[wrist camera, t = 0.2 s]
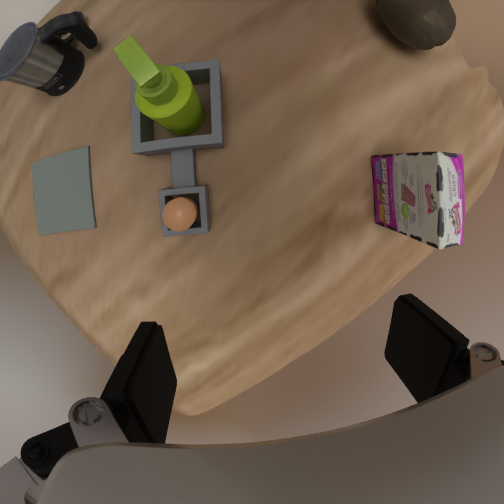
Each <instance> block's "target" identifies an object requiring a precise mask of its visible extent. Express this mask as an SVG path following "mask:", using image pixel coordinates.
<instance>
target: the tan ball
mask: <svg viewBox="0 0 504 504" xmlns="http://www.w3.org/2000/svg"><path fill="white" fill-rule="evenodd" d="M162 215H163V221H164V223H165V224H166V226H167V227H168V228H169V229H171V230H173V231H178V232H179V231H184V230H186V229H188V228H189V227H190V226H191V225H192V224H193V223H194V221H195V220H196V218H197V215H198V208H197V205H196V203H195V202H194V201H193V200H192V199H190V198H188V197H184V196H182V197H177V198H175V199H173V200H171V201H169V202H168V203H167V204H166V205H165V207H164V209H163V214H162Z"/></svg>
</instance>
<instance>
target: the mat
mask: <svg viewBox="0 0 504 504" xmlns="http://www.w3.org/2000/svg"><path fill="white" fill-rule="evenodd" d="M32 175H33V189H34V200H35V209H36V216H37V223H38V230H39V235H44V234H51V233H58V232H66V231H73V230H81V229H89V228H96V227H97V226H96V218H95V211H94V202H93V192H92V180H91V165H90V146H87V147H83V148H79V149H76V150H72V151H68V152H65V153H61V154H58V155H55V156H52V157H48V158H45V159H42V160H39V161H36V162H33V163H32Z"/></svg>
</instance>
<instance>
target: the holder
mask: <svg viewBox="0 0 504 504" xmlns="http://www.w3.org/2000/svg"><path fill="white" fill-rule="evenodd" d="M169 66H175V67H178V68H180V69H182V70H184V71H185V72H186V73H187V74H188V76H189V78H190V80H191V82H192V84H193V85H194V84H204V83H210V99H211V128H212V134H206V135H195V136H186V137H177V138H169V139H162V140H155V141H154V138H153V120H152V119H151V118H149V117H148V116H146V115H144V114H143V113H142V112H141V111H140V110H139V109H138V107H137V105H136V101H135V92H136V87H135V82H136V81H135V79H134V78H133V77H132V104H131V129H132V154H139V155H144V156H149V155H156V154H163V153H171V164H172V180H173V188H167V189H162V190H158V194H159V205H160V215H161V225H162V233H163V236H176V235H190V234H204V233H208V232H209V230H210V227H211V226H210V213H209V199H208V185H198V186H196V170H195V152H194V150H199V149H211V148H224V138H223V114H222V86H221V70H220V61H219V60H209V61H198V62H190V63H182V64H175V65H169ZM189 193H199V202H200V215H201V223H193V224H192V225H191V226H190V227H189V228H188V229H186V230H184V231H179V232H178V231H173V230H171V229H169V228H168V227H167V226H166V224H165V223H164V221H163V215H162V214H163V209H164V207H165V205H166V204H167V203H168V202H169V201H171V200H172V197H171V195H178V194H189Z"/></svg>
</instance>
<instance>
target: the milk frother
mask: <svg viewBox="0 0 504 504" xmlns="http://www.w3.org/2000/svg"><path fill="white" fill-rule="evenodd" d="M67 32H69V33H71V35H70V36H69V37H68V38H66V39H61V38H60V36H59V34H60V33H67ZM77 39H78V40H79V41H80V42H81V43H83V44H84V45H85V46H86V47H87V48H88V49H93V48H94V47H95V46H96V45H97V38H96V35H95V34H94V32H93V31H92V30H91V29H90V28H89V27H88V26H87V24H86V23H85V22H84V21H83V14H82V13H81V12H72V13H70V14H62V15H59V16H57V17H55V18H53V19H51V20H50V21H48V22H47V23H46V24H44V25H43V26H42V27H40V28H38V27H37V25H36V24H35V23H34V22H28V23H25V24H23V25H22V26H20V27H19V28H17V29H16V30H15V31H14V32H13V33H12V34H11V35H10V37H9V38H8V39H7V40H6V41H5V43H4V44H3V46H2V48H1V50H0V81H4V80H6V81H10V82H14V83H17V84H21V85H25V86H28V87H32V88H36V89H39V90H41V91H44V92H47V93H48V94H49V95H51V96H59V95H61V94H63V93H65V92H67V91H68V90H69V89H70V88H71V87H72V86H73V85H74V84H75V83H76V81H77V80H78V78H79V77H80V75H81V73H82V70H83V66H84V57H83V54H82V53H81V52H80V51H79V50H77V49H75V48H74V45H75V43H76V41H77ZM72 40H73V42H72V44H71V45H69V44H68V43H69V42H71V41H72Z"/></svg>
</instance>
